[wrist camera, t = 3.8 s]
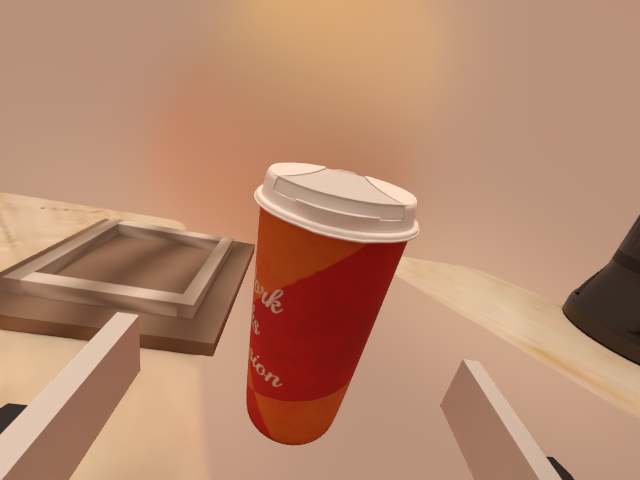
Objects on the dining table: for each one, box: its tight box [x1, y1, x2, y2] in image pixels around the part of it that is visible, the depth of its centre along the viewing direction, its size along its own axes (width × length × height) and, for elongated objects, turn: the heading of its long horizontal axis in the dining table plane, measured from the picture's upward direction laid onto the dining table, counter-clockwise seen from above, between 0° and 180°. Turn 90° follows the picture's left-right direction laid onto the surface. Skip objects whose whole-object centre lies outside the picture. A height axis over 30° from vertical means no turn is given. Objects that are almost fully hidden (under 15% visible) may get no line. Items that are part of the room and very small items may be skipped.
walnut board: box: [0, 218, 255, 356], centre depth 29 cm, size 18×18×2 cm
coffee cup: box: [247, 163, 419, 445], centre depth 17 cm, size 8×8×15 cm
